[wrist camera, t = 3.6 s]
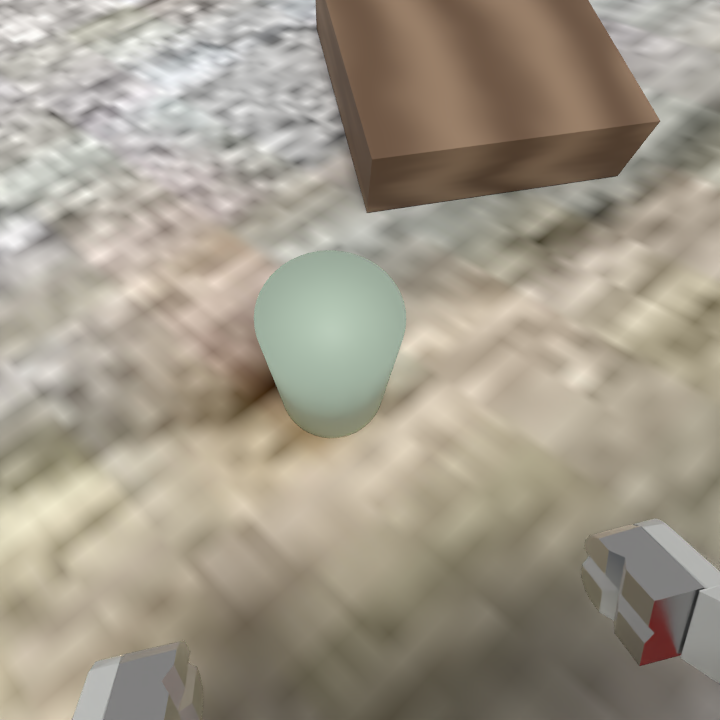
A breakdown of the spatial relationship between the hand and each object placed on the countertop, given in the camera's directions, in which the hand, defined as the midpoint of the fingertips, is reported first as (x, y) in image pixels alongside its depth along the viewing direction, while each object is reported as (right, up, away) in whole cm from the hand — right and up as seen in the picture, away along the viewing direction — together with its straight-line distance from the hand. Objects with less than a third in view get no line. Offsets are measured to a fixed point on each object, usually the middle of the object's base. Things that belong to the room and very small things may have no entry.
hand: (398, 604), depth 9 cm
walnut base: (+6, +22, +21) cm, 31 cm away
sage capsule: (-2, +3, +13) cm, 14 cm away
